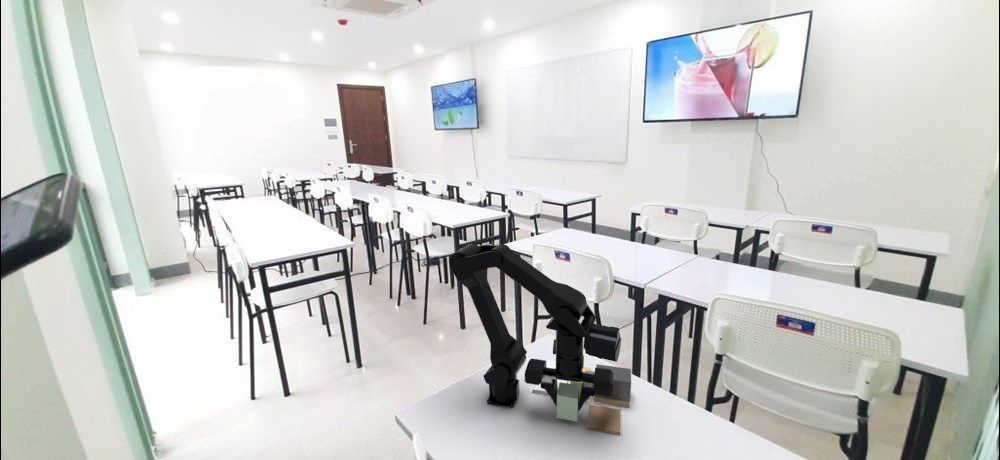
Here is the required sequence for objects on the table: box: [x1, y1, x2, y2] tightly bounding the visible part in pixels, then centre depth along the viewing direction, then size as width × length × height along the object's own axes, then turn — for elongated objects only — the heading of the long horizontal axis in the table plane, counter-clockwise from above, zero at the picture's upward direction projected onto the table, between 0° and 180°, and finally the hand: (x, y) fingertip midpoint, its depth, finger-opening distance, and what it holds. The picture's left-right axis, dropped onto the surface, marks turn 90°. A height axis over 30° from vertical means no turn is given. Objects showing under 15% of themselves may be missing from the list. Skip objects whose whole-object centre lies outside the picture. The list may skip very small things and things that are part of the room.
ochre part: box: [569, 366, 592, 401], centre depth 99 cm, size 4×4×6 cm
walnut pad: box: [586, 404, 622, 436], centre depth 91 cm, size 7×7×1 cm
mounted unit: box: [593, 363, 632, 408], centre depth 97 cm, size 8×5×7 cm, turn 74°
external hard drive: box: [532, 359, 569, 396], centre depth 105 cm, size 2×8×12 cm
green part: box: [556, 382, 580, 422], centre depth 91 cm, size 4×4×6 cm
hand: (568, 407), depth 92 cm, fingers closed on green part, 4 cm apart
